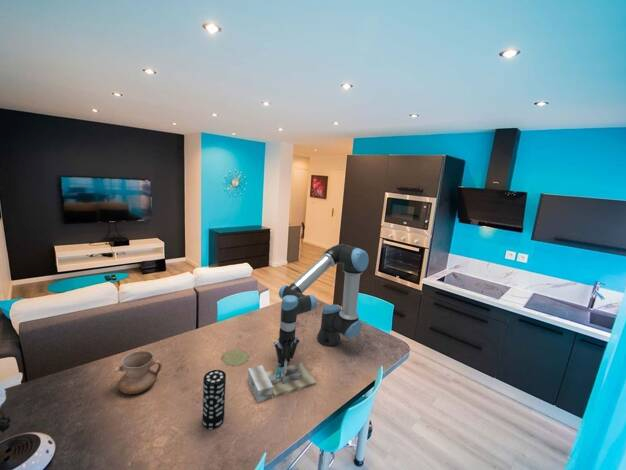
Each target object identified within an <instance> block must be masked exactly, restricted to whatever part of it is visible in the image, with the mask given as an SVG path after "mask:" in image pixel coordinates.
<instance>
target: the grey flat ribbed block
mask: <svg viewBox="0 0 626 470" xmlns="http://www.w3.org/2000/svg"><path fill="white" fill-rule="evenodd" d="M276 370H277V368H275V369H273V370H269V371H266V370H265V368H264V366H263V365H257V366H254V367H248V369H247V382H248V383H249V386H250V388H251V391H252V393H253V395H254V398H255V400H256V402H257V403H261V402H264V401H268V400H271V399H273V397H274V398H278V397H281V396H283V395H287V394H291V393H294V392H297V391H300V390H303V389H307V388H309V387H313V386H316V385H317V381H316V379H315V378H314V376H313V375H312V374H311V372H310V371H309V370H308V368H307V367H306V366H305V364H304V363H303V362H299V363H295V364H292V365H288V366H287V373H285V374H284V373H283V371H282V370H281V373H283V374H284V375H285V377H284V378H282V381H281V382H277V383H274V384H272V383H271V381H270V379H269V378H268V377H269V376H273V375H276Z"/></svg>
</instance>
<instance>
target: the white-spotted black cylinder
mask: <svg viewBox="0 0 626 470" xmlns="http://www.w3.org/2000/svg"><path fill="white" fill-rule="evenodd" d="M202 380H203V385H202V420H201V421H202V426H203V427H204V429H207V430H214V429H218V428H219V427H221V426H222V425H223V423H224V422H225V411H226V410H225V408H226V407H225V406H226V405H225V404H226V385H227V384H226V383H227V382H226V381H227V375H226V372H225V371H223V370H221V369H213V370H210V371H208V372H206V373H205V374H204V376H203V379H202Z"/></svg>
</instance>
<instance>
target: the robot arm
mask: <svg viewBox="0 0 626 470" xmlns="http://www.w3.org/2000/svg"><path fill="white" fill-rule="evenodd" d="M369 260H370V259H369V255H368V253H367V251H366V250H363V249H362V248H360V247H355V246H352V245H348V244H345V243H340V244H336V245H333V246H332V247H330V248H328V249H326V250H325V251H324V252H323V253H322V254H321V257H320V258H319V259H317V261H315V262H314V263H313V264H312V265H311V266H310V267H309V268H307V269H306V271H304V272H303V273H302V274H301V275H300V276H299V277H298V278H296V279H294V281H293V282H292V283H291V284H290V285H283V286H281V287H280V289H279V290H278V296H279V298H280V299H281V306H280V321H279V322H280V323H279V335H278V339H277V341H275V342H273V345H274V348H275V352H276V358H277V361H278V360H279V361H280V362H281V364H280V365H281V366H282V371H283V373H284V374H285V373H287V366H290V362H291V360H292V359H294V355H295V352H296V350H297V347H298V344H299V343H300V339H299V338H298V337H296V328H297V327H296V326H297V317H298V315H301V314H304V313H307V312H311V311H312V310H315V309H316V308H317V307H318V300H317V298H316V296H315V295H313V294H307V295H305V294H304V292H305V291H306V290H307V289H308V288H309V287H311V286H312V285H313V284H314V283H315V282H316V281H317V280H318V279H319V278H320V277H321V276H322V275H323V274H325V272H327V271H328V270H329V269H330V268H331V267H335V266H336V265H337V264H340V265H342V272H344V281H343V282H344V283H343V292H342V293H343V294H342V304H341V306H342V307H341V306H340V305H338V304H326V305H324V306H323V307H322V312H321V324H320V329H319V331H318V333H317V335H316V340H317V341H316V342H318V343H319V344H320V345H322V346H325V347H330V348H332V347H337V346H339V345H340V344H341V339H342V338H341V335H343V336H344V337H346V338H348V339H355V338H356V337H357V336H358V335H359V334H360V332H361V331H362V328H363V323H362V321H361V320H359V316H360V315H359V312H357V311H358V310H357V309H358V299H359V290H360V280H361V279H360V278H361V275H362V274H363V273H364V271H365V270H367V268H368V265H369V262H370V261H369ZM279 343H280V344H281V346H282V349H281V354H280V349H279ZM291 344H292V347H291ZM285 354H286V358H285Z"/></svg>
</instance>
